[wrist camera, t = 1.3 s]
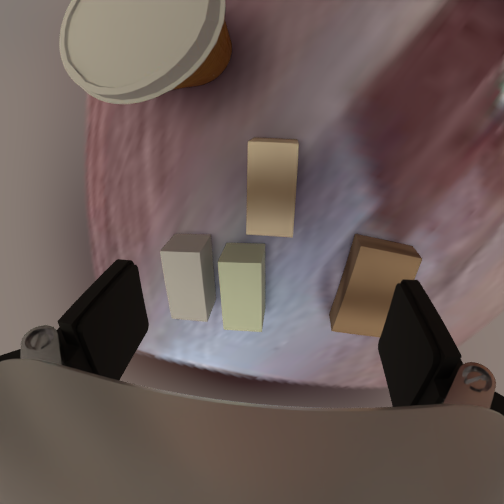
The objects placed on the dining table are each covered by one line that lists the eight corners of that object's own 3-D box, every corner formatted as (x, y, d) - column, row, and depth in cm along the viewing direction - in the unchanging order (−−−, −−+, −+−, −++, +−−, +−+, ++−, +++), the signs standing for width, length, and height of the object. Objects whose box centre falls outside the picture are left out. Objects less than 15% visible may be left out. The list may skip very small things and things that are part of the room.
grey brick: (175, 233, 29) (159, 251, 25) (211, 233, 28) (199, 252, 25) (184, 295, 32) (171, 318, 28) (216, 297, 31) (207, 321, 28)
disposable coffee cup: (273, 28, 20) (258, -36, 9) (216, 123, 24) (157, 134, 13) (175, -8, 18) (106, -64, 8) (126, 81, 23) (32, 77, 12)
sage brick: (227, 242, 28) (217, 261, 25) (265, 243, 28) (261, 263, 24) (231, 304, 31) (223, 329, 28) (265, 306, 31) (261, 331, 27)
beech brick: (254, 137, 24) (247, 141, 20) (297, 139, 24) (298, 143, 20) (252, 217, 27) (246, 234, 24) (292, 219, 27) (292, 237, 23)
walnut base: (354, 232, 27) (360, 246, 24) (411, 244, 26) (422, 258, 24) (329, 312, 31) (331, 331, 28) (381, 319, 30) (387, 338, 28)
